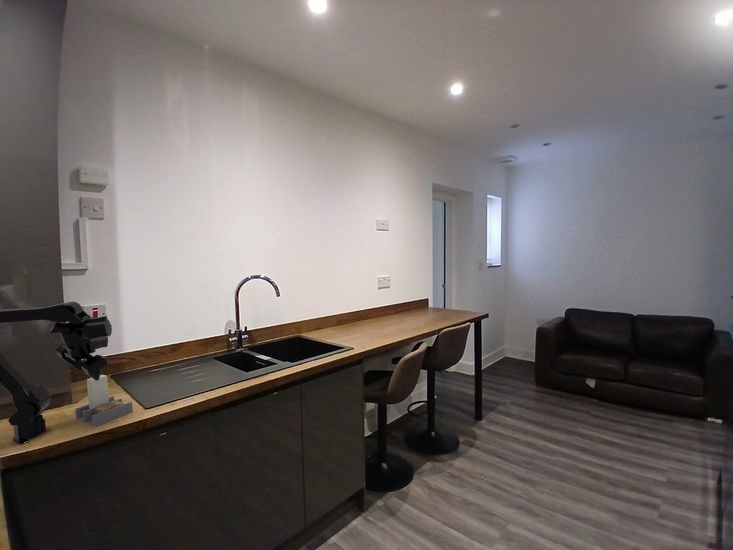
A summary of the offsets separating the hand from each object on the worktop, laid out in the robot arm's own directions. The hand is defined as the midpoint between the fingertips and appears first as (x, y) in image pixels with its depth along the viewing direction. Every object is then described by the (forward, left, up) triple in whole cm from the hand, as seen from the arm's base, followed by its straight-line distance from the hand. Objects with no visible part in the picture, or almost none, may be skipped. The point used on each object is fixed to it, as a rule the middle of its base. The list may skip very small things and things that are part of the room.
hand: (89, 374), depth 127 cm
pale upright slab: (+3, +1, -15) cm, 15 cm away
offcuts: (+3, -5, -15) cm, 16 cm away
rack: (+3, -2, -16) cm, 16 cm away
